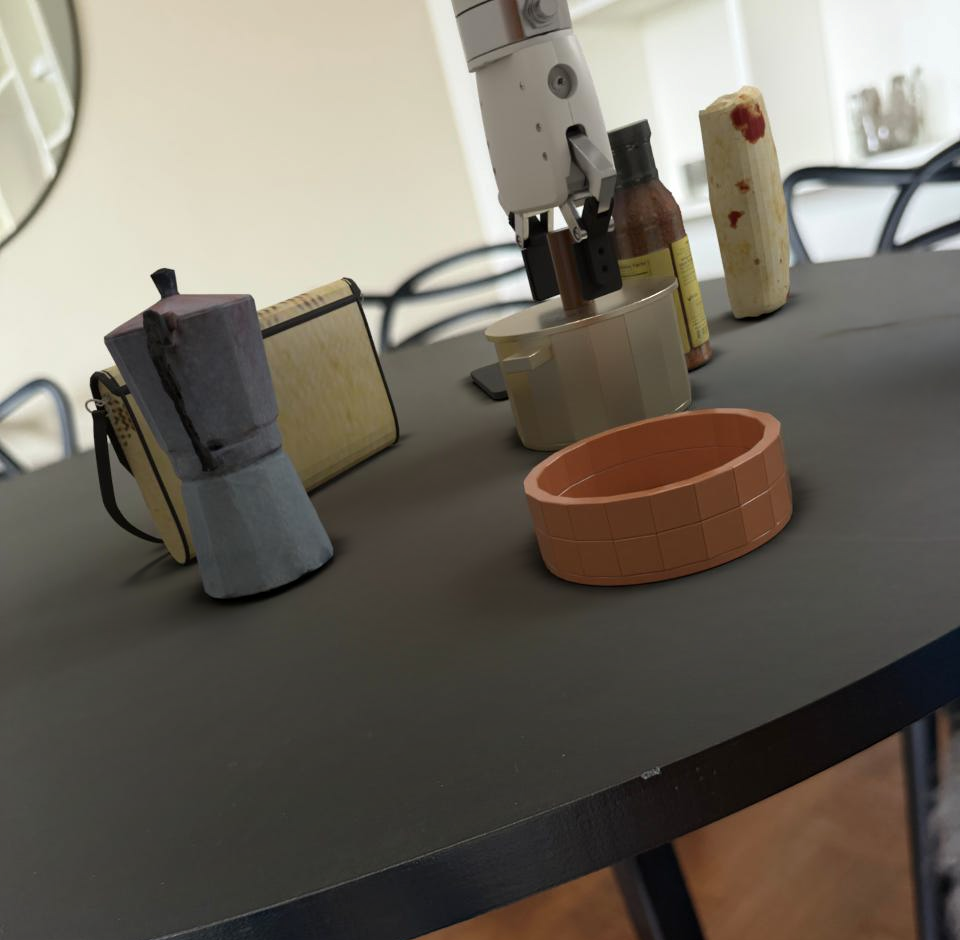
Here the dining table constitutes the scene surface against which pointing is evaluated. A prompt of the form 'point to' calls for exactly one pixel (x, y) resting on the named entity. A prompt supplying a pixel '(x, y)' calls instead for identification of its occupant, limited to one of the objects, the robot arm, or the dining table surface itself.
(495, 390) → the phone
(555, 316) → the lid
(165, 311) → the moka pot
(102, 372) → the clutch purse
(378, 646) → the dining table surface
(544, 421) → the pot
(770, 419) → the pan
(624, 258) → the sauce bottle
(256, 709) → the dining table surface
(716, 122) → the food model
